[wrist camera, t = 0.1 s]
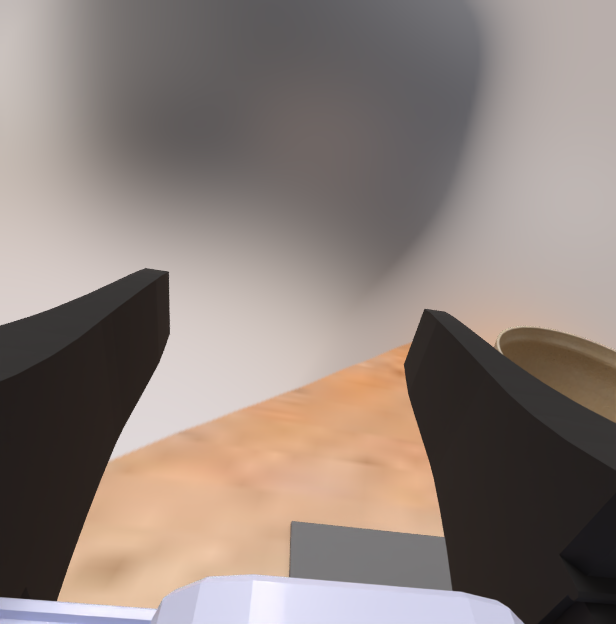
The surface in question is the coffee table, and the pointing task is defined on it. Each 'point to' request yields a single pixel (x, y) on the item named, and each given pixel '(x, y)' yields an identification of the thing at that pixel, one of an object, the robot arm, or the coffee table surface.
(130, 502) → the coffee table surface
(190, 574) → the coffee table surface
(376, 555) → the mat
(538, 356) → the planter bowl
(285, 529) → the coffee table surface
